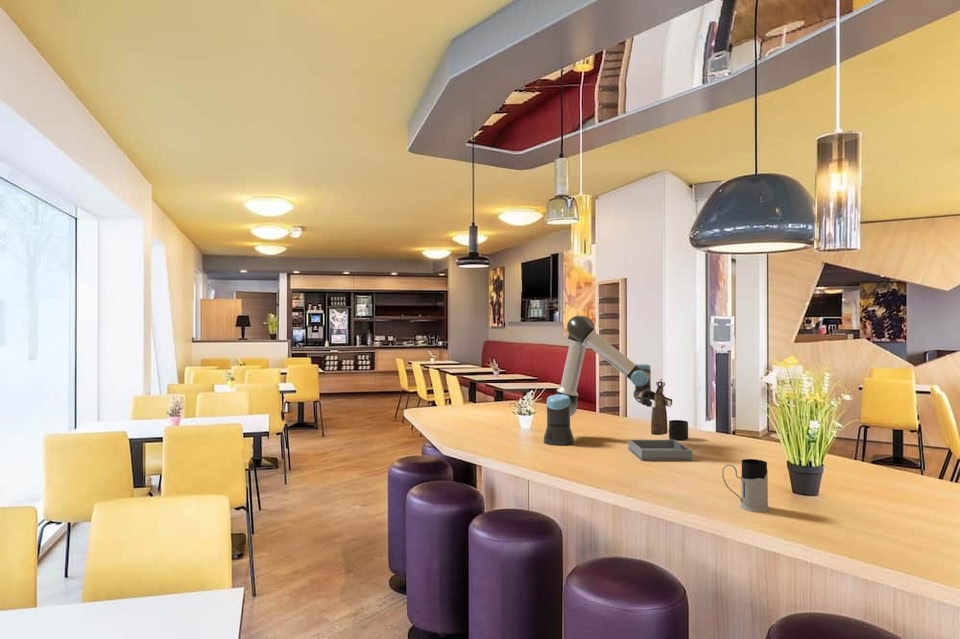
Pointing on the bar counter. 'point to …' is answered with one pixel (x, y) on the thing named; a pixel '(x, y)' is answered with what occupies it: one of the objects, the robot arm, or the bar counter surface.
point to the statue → (659, 412)
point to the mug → (678, 430)
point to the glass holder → (753, 485)
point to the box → (660, 450)
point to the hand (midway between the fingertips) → (662, 404)
